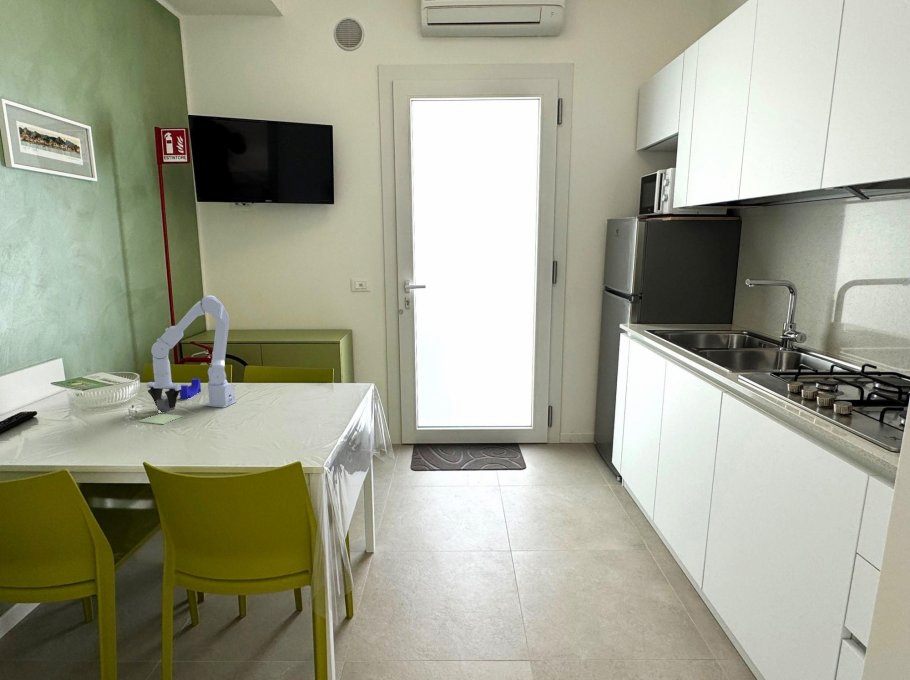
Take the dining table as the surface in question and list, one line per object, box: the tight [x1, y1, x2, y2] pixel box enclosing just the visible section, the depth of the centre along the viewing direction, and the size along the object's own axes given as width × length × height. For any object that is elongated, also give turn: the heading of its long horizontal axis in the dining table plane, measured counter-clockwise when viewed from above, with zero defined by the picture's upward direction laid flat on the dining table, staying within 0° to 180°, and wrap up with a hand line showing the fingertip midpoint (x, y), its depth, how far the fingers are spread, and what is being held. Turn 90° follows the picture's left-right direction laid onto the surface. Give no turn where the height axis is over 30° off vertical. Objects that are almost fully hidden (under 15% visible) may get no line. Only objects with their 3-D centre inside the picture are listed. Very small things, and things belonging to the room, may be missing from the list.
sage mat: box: [138, 413, 183, 425], centre depth 199 cm, size 11×9×1 cm
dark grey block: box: [156, 393, 175, 413], centre depth 208 cm, size 3×7×6 cm, turn 164°
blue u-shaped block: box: [179, 378, 202, 400], centre depth 228 cm, size 12×4×6 cm, turn 0°
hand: (165, 406), depth 208 cm, fingers open, 6 cm apart
